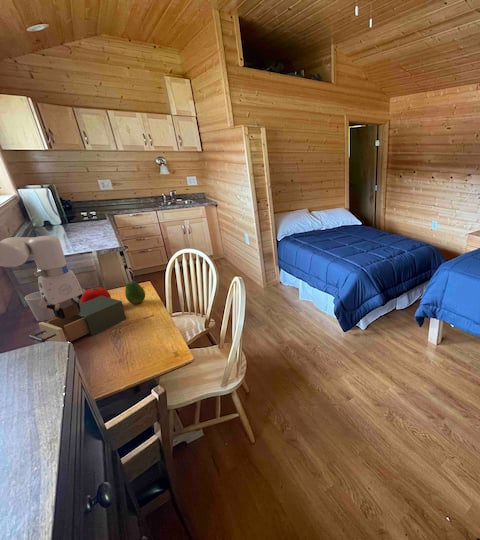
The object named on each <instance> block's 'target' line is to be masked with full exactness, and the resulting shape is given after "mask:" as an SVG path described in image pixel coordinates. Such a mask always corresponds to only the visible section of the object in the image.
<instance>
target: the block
mask: <svg viewBox="0 0 480 540" xmlns="http://www.w3.org/2000/svg"><path fill="white" fill-rule="evenodd" d="M59 309H61V310H62V312H63V315H64V319H68V318H70V317H73V316H75V315H78V314H80V312H79V309H78V306H77V303H74V302H71V300H66V301H63V302H61V303H59Z"/></svg>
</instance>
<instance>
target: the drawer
mask: <svg viewBox="0 0 480 540" xmlns="http://www.w3.org/2000/svg"><path fill="white" fill-rule="evenodd" d="M38 326H39V328H40V331H39V332H37V333H35V334H29V335H28V339H31V340H33V341H36V342H39V343H42V342H43V343H45V342H46V341H49V342H51V341H67V342H73V341H75V340H77V339H79V338H81V337H84V336H85V335H86V336H87V334H88V333H90V332H89V329H88V326H87V323H86V320H85V318H84V317H81V316H78V315H75V316H73V317H70V318H68V319H60V318H57V317H54V318H52V319H49V320H47V322H45V321H39V322H38ZM39 335H43V337H41V336H39Z"/></svg>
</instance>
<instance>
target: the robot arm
mask: <svg viewBox="0 0 480 540" xmlns="http://www.w3.org/2000/svg"><path fill="white" fill-rule="evenodd" d="M29 258H32V259H33V260H34V263H35V265H36V271H35V272H33V275H34V276H35V277H37V280H38V281H37V283H38V290H39V292H40V294H41V297H42V298H41V300H40V302H39V304H38V306H39V307H43V308H49V309H53V312H54V315H55V317H54V318H56V317H57V318H60V319H64V315H63V312H62V310H61V309H59V304H61V303H64V302H67V301H69V300H70V302H74V303H77V306H78V309H79V312H80V305H79V304H80V303H81V297H82V295H83V294H84V293H85V292H86V290H87V289H85V288H83V287H82V286H81V285H80V282H79V280H78V278H77V276H76V274H75V273H74V271H73V270H71V269H69V266H68V263H67V261H66V257H65V253H64V250H63V247H62V245H61V241H60V239H59V238H58V237H57V236H54V235H40V236H34V237H33V236H29V237H28V236H25V237H24V236H10V237H6V238H4V239H1V240H0V267H4V268H16V267H20V266H22V265H24V264H25V263H26V262H27V261H28V259H29ZM46 302H48V303H50V305H49V304H46Z"/></svg>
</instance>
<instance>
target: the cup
mask: <svg viewBox="0 0 480 540" xmlns="http://www.w3.org/2000/svg"><path fill="white" fill-rule="evenodd" d="M41 298H42V297H41V294H40V291H35V292H32V293H28V294H26V295H25V296H24V300H25V301H26V304H27V305H28V307H29V309H30V310H31V313H32V315H33V316H34V319H35V320H36V322H45V321H48V320H51V319H53V318H56V317H55V315H54V312H53V309H49V308H43V307H39V306H38V304H39V302H40V300H41ZM46 304H49V305H50V303H48V302H46Z"/></svg>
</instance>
